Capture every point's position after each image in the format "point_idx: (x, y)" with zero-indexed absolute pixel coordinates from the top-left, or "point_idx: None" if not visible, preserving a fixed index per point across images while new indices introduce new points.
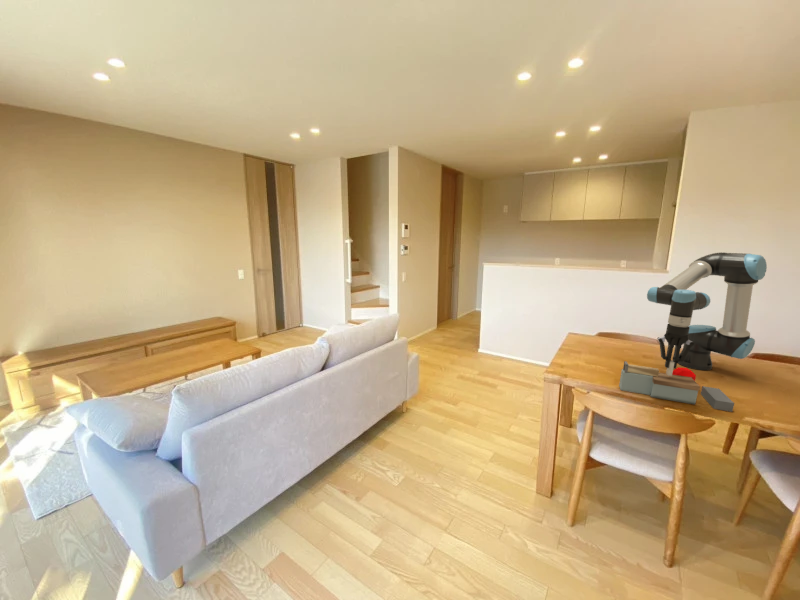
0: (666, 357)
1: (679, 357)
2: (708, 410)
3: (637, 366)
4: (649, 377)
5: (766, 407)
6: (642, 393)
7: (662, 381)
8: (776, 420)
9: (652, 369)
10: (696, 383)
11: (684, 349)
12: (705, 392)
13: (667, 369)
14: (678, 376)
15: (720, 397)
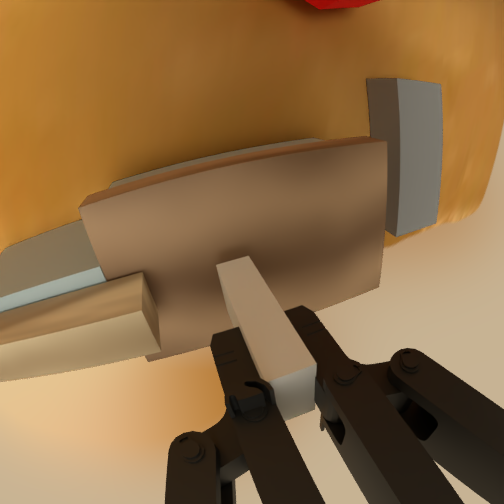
0: (241, 473)
1: (411, 391)
2: None
3: (11, 360)
4: None
5: (481, 116)
6: None
7: (190, 347)
8: (469, 198)
9: (110, 361)
10: (380, 248)
11: (495, 485)
12: (390, 126)
13: (232, 312)
14: (310, 177)
15: (420, 192)
